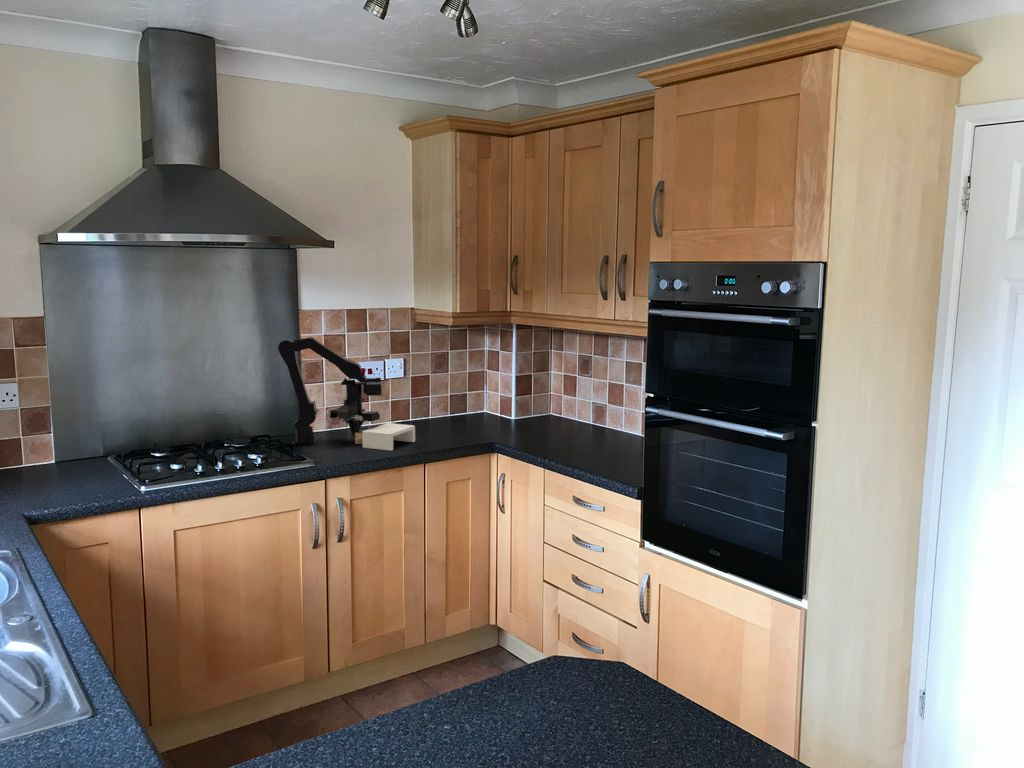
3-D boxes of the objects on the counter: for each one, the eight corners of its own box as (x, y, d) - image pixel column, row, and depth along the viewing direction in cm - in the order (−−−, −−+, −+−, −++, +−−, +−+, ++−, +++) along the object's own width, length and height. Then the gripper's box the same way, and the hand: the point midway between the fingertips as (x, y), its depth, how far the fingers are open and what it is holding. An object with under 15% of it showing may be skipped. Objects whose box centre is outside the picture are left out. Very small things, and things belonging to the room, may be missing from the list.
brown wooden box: (355, 443, 310) (354, 432, 309) (363, 440, 314) (363, 430, 314) (378, 445, 306) (377, 435, 305) (386, 442, 311) (385, 432, 310)
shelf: (362, 447, 302) (362, 431, 302) (388, 438, 318) (387, 423, 317) (390, 450, 298) (390, 434, 297) (415, 441, 313) (415, 425, 312)
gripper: (320, 397, 306) (321, 439, 308) (363, 401, 299) (364, 444, 301) (338, 393, 316) (339, 433, 318) (380, 396, 309) (380, 438, 311)
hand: (355, 437), depth 312 cm, fingers closed
